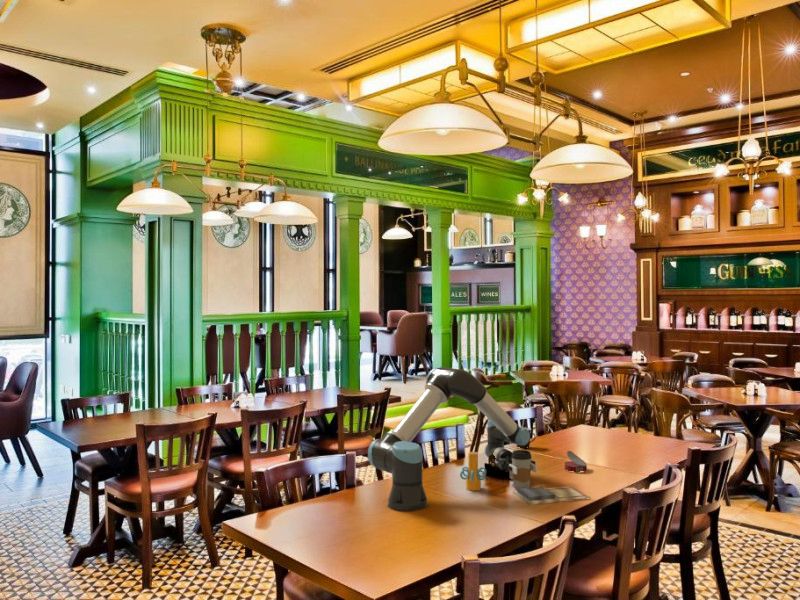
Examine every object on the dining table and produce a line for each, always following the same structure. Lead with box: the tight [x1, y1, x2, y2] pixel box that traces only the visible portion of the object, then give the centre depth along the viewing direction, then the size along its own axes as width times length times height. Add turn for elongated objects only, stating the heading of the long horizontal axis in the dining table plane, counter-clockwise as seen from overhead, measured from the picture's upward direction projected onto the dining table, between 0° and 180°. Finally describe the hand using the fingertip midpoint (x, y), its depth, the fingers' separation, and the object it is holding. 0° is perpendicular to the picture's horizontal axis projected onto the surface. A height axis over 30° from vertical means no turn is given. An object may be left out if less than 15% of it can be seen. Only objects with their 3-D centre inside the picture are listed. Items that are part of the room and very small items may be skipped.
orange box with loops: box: [459, 451, 487, 492], centre depth 268 cm, size 12×10×15 cm
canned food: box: [564, 450, 588, 472], centre depth 296 cm, size 11×10×10 cm
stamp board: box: [511, 485, 591, 506], centre depth 257 cm, size 26×16×2 cm, turn 104°
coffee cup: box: [511, 449, 532, 490], centre depth 269 cm, size 8×8×15 cm
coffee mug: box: [516, 427, 537, 448], centre depth 341 cm, size 12×9×10 cm
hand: (526, 470), depth 264 cm, fingers closed on coffee cup, 8 cm apart
